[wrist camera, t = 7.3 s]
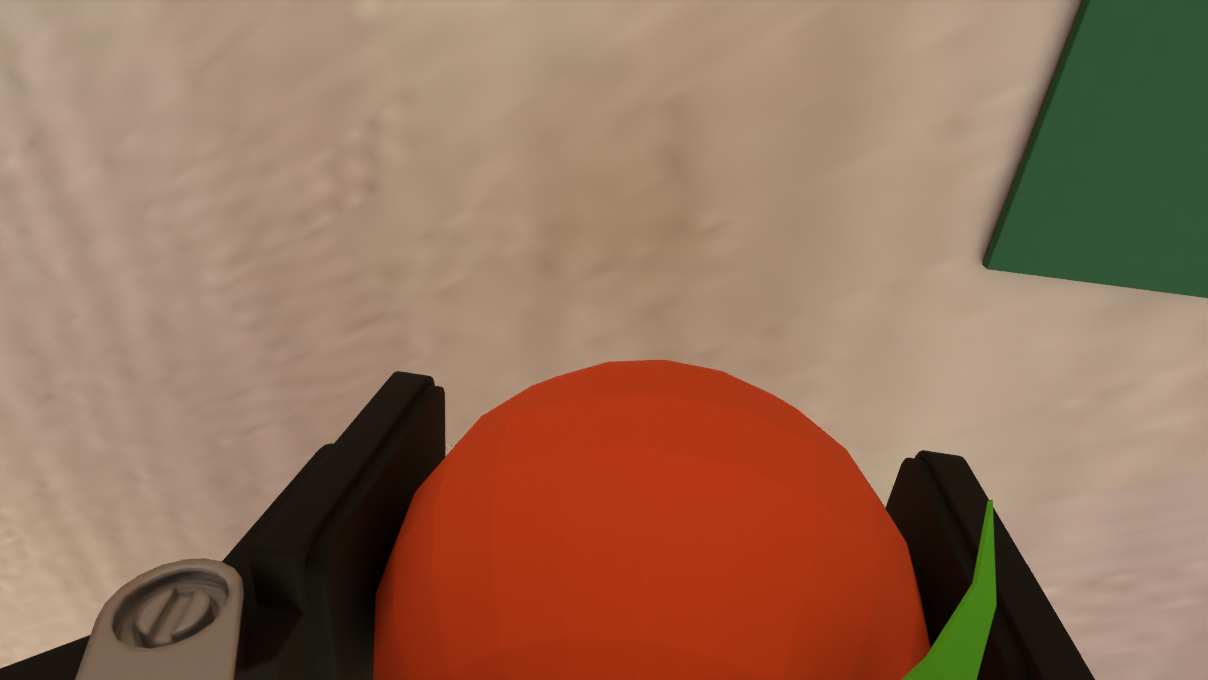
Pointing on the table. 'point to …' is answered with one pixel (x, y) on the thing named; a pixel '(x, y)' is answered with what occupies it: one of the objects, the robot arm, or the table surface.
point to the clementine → (660, 546)
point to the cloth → (1118, 155)
